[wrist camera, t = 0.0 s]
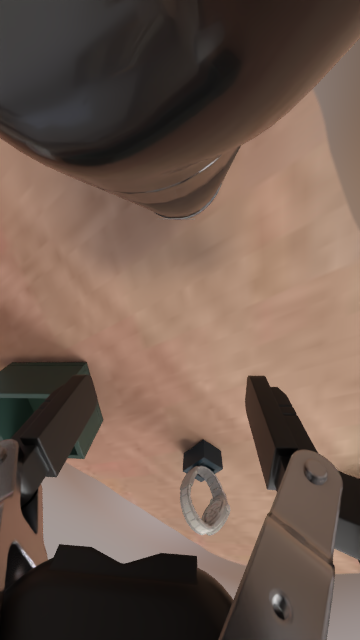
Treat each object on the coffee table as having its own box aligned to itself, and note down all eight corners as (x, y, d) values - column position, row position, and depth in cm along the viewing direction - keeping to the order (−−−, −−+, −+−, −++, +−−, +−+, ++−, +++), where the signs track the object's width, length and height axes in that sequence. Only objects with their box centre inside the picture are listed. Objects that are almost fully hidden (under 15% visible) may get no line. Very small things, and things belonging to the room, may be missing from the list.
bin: (12, 362, 33) (-31, 392, 27) (86, 362, 32) (59, 394, 26) (38, 418, 38) (7, 455, 32) (103, 420, 37) (84, 459, 31)
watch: (208, 468, 40) (212, 548, 30) (176, 449, 38) (169, 526, 28) (228, 455, 38) (240, 536, 28) (196, 434, 36) (196, 512, 26)
